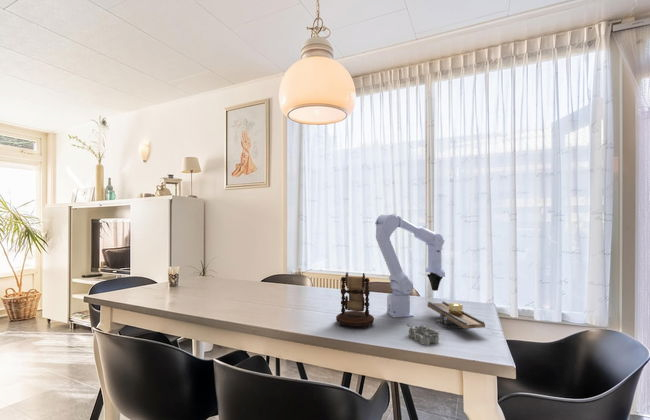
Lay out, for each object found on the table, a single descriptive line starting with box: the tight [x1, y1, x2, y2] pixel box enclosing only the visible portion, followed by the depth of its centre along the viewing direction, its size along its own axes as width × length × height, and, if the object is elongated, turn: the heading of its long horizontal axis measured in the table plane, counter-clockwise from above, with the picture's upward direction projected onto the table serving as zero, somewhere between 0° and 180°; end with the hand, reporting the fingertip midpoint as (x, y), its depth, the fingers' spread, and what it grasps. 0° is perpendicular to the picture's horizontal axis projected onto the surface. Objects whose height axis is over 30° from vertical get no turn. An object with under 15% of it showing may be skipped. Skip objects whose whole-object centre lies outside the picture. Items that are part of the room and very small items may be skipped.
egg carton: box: [406, 323, 441, 345], centre depth 111 cm, size 11×8×4 cm
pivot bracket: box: [434, 313, 464, 330], centre depth 126 cm, size 11×8×4 cm
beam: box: [427, 301, 486, 329], centre depth 126 cm, size 8×28×2 cm, turn 8°
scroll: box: [335, 272, 375, 329], centre depth 127 cm, size 15×15×20 cm
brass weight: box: [448, 302, 464, 316], centre depth 125 cm, size 5×5×4 cm
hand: (434, 290), depth 145 cm, fingers closed
